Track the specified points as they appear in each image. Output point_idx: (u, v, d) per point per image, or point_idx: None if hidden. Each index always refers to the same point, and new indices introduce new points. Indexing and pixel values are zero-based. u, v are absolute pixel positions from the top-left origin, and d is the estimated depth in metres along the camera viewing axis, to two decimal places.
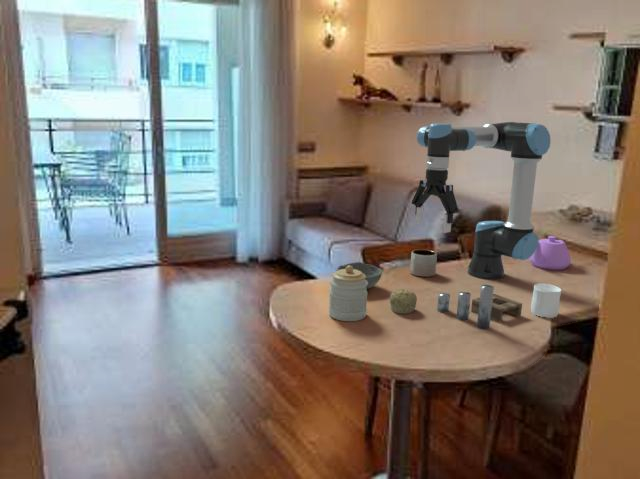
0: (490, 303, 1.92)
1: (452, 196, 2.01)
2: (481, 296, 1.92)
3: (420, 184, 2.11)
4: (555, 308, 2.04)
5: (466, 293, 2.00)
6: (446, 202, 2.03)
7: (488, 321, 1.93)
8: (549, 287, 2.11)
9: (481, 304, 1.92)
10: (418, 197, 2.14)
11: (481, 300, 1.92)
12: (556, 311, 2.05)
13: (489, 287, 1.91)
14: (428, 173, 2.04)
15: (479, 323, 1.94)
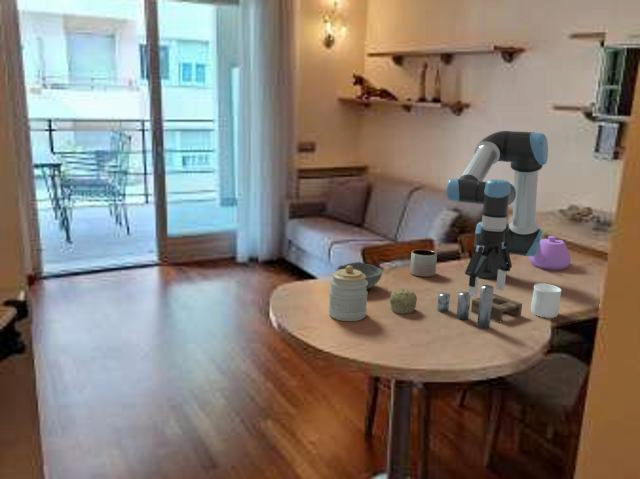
0: (490, 303, 1.92)
1: (475, 258, 1.85)
2: (481, 296, 1.92)
3: None
4: (555, 308, 2.04)
5: (465, 293, 2.00)
6: None
7: (488, 321, 1.93)
8: (549, 287, 2.11)
9: (481, 304, 1.92)
10: (504, 260, 1.95)
11: (481, 300, 1.92)
12: (556, 311, 2.05)
13: (489, 287, 1.91)
14: None
15: (479, 323, 1.94)
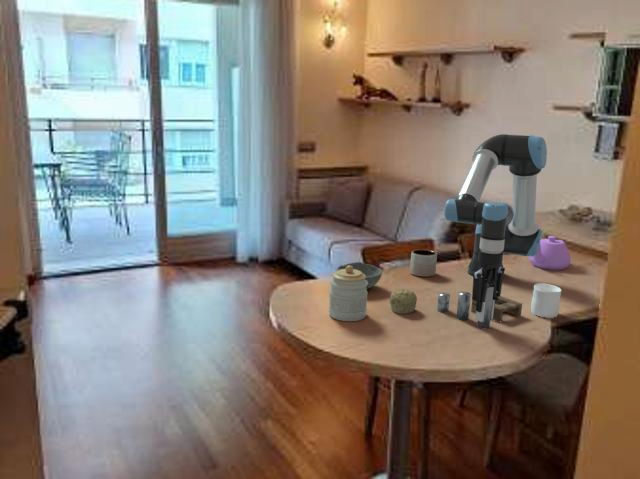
0: (490, 303, 1.92)
1: (476, 285, 1.88)
2: None
3: None
4: (555, 308, 2.04)
5: (466, 293, 2.00)
6: None
7: (488, 321, 1.93)
8: (549, 287, 2.11)
9: None
10: (495, 286, 1.95)
11: None
12: (556, 311, 2.05)
13: (489, 287, 1.91)
14: None
15: (479, 323, 1.94)
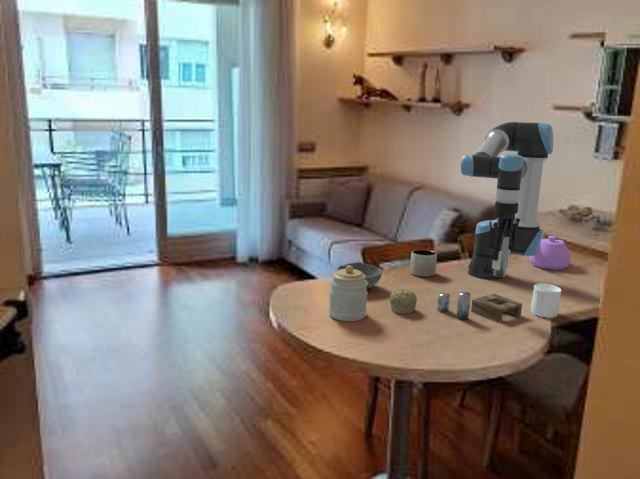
0: (506, 252, 2.00)
1: (493, 234, 1.97)
2: None
3: None
4: (555, 308, 2.04)
5: (465, 293, 2.00)
6: None
7: (504, 269, 2.02)
8: (549, 287, 2.11)
9: None
10: None
11: None
12: (556, 311, 2.05)
13: (505, 236, 2.00)
14: None
15: (495, 271, 2.03)
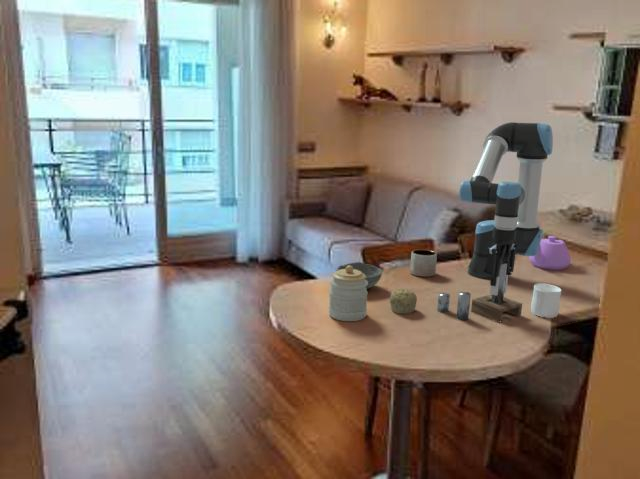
0: (503, 278, 2.03)
1: (491, 260, 2.00)
2: None
3: None
4: (555, 308, 2.04)
5: (465, 293, 2.00)
6: None
7: (502, 295, 2.05)
8: (549, 287, 2.11)
9: None
10: None
11: None
12: (556, 311, 2.05)
13: (503, 263, 2.03)
14: None
15: (493, 297, 2.06)
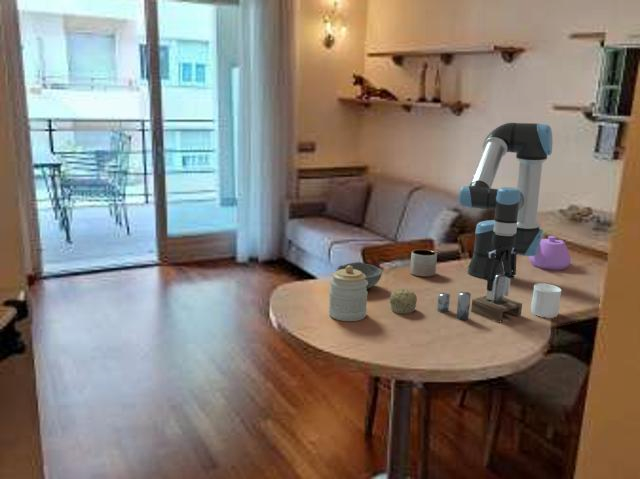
0: (502, 291, 2.04)
1: (489, 264, 2.00)
2: None
3: None
4: (555, 308, 2.04)
5: (466, 293, 2.00)
6: None
7: None
8: (549, 287, 2.11)
9: None
10: (510, 266, 2.08)
11: None
12: (556, 311, 2.05)
13: (502, 276, 2.04)
14: None
15: None
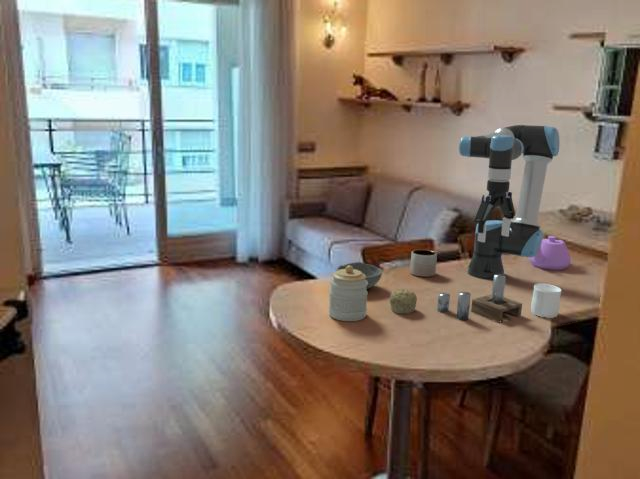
0: (502, 291, 2.04)
1: (483, 206, 2.04)
2: (494, 284, 2.05)
3: None
4: (555, 308, 2.04)
5: (465, 293, 2.00)
6: None
7: None
8: (549, 287, 2.11)
9: (494, 292, 2.05)
10: (508, 208, 2.15)
11: (494, 288, 2.05)
12: (556, 311, 2.05)
13: (501, 276, 2.04)
14: None
15: None
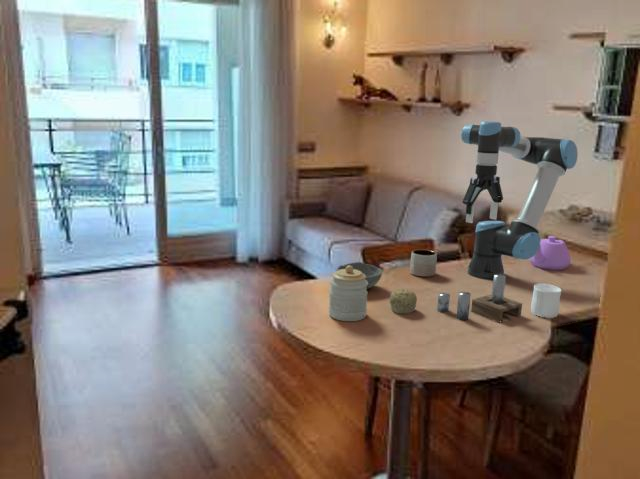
0: (502, 291, 2.04)
1: (470, 188, 2.15)
2: (494, 284, 2.05)
3: None
4: (555, 308, 2.04)
5: (465, 293, 2.00)
6: (472, 194, 2.17)
7: None
8: (549, 287, 2.11)
9: (494, 292, 2.05)
10: (496, 193, 2.25)
11: (494, 288, 2.05)
12: (556, 311, 2.05)
13: (501, 276, 2.04)
14: None
15: None
